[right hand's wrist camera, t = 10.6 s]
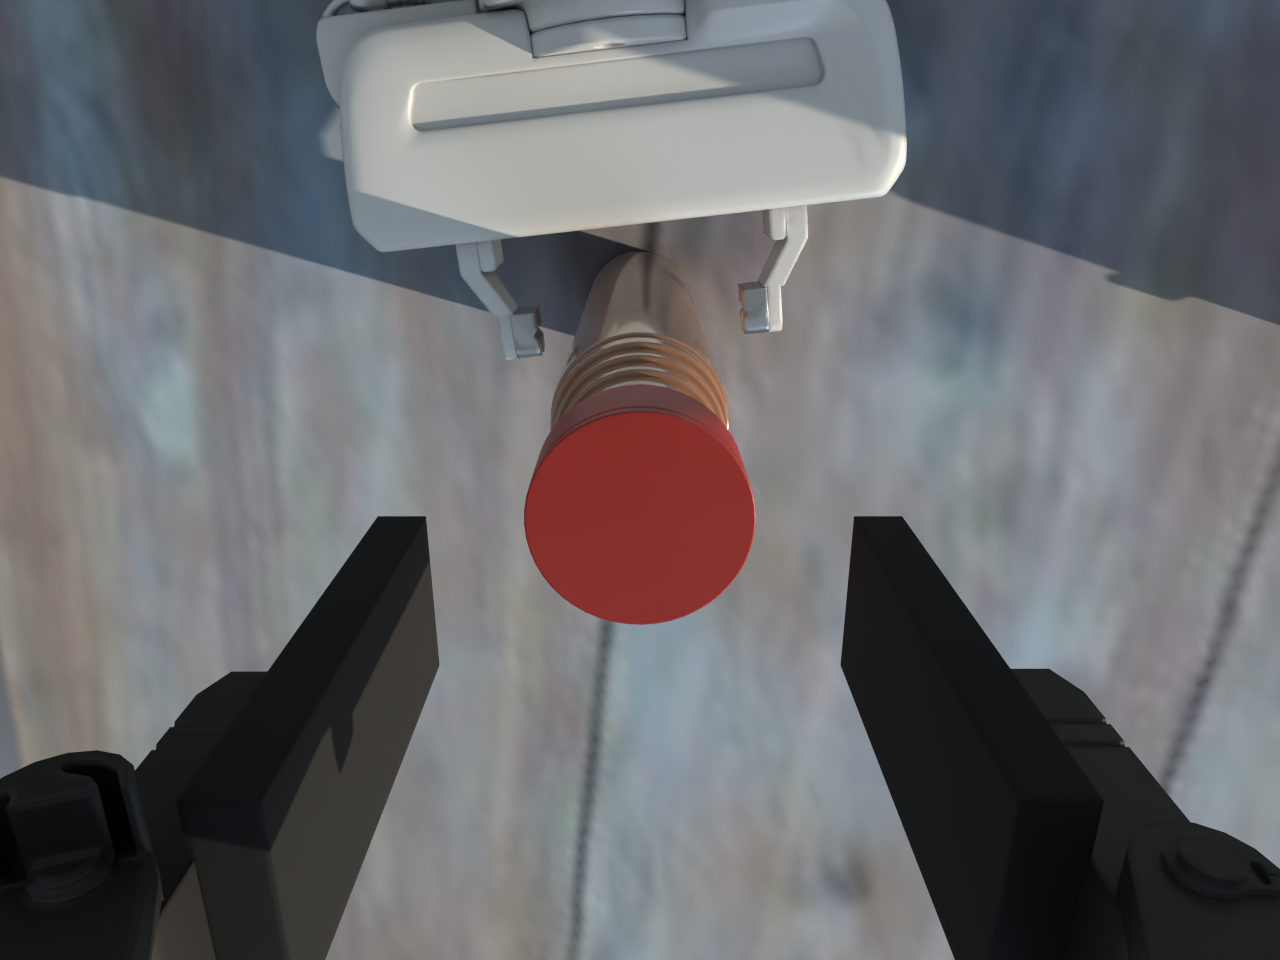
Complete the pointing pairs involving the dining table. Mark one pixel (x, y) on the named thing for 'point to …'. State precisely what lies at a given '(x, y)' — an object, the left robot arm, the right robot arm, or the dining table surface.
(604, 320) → the bottle
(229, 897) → the right robot arm
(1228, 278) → the dining table surface
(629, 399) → the cap
